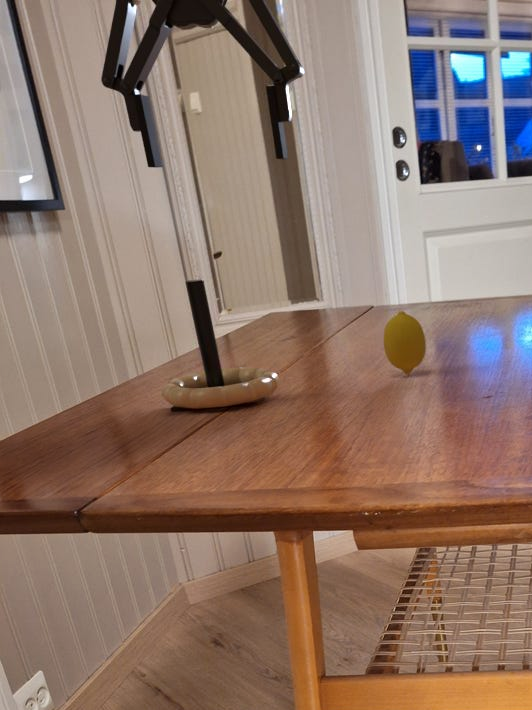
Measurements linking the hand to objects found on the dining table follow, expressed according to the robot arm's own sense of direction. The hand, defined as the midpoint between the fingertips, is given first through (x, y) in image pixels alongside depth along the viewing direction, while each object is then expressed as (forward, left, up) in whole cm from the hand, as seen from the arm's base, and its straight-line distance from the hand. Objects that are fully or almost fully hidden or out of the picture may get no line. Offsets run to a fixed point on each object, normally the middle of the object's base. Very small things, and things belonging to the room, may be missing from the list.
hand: (219, 163), depth 92 cm
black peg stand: (-5, 0, -26) cm, 26 cm away
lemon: (+17, +13, -26) cm, 34 cm away
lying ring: (-5, 0, -23) cm, 24 cm away
